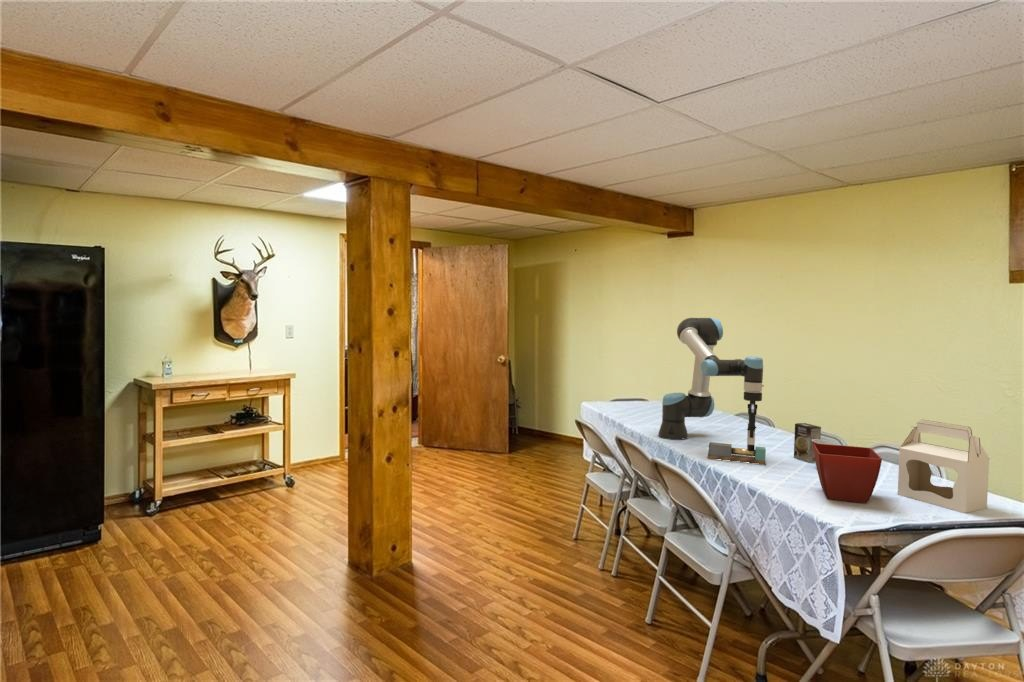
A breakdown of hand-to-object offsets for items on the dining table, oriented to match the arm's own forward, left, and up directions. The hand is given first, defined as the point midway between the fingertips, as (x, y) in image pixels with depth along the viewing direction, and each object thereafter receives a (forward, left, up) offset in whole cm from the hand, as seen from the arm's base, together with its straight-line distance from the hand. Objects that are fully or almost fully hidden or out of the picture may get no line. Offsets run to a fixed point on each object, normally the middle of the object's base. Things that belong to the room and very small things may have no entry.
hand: (751, 443), depth 251 cm
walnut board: (-4, -4, -8) cm, 10 cm away
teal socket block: (+3, +3, -7) cm, 8 cm away
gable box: (+66, +22, -8) cm, 70 cm away
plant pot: (+50, -6, -8) cm, 51 cm away
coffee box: (+7, +27, -8) cm, 29 cm away
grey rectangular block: (-9, -9, -7) cm, 14 cm away
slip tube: (-2, -2, -6) cm, 6 cm away
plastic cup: (+21, +21, -8) cm, 30 cm away
